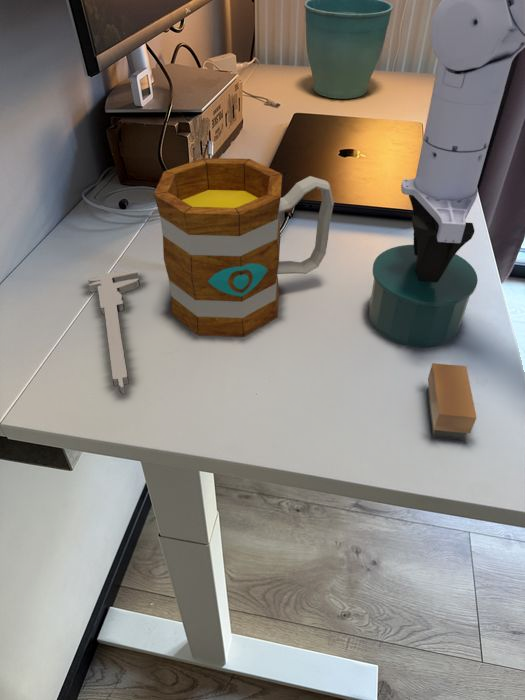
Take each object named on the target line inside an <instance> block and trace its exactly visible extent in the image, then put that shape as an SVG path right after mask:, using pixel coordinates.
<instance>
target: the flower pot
mask: <svg viewBox="0 0 525 700" xmlns="http://www.w3.org/2000/svg"><path fill="white" fill-rule="evenodd" d="M304 9H305V44H306V45H305V47H306V53H307V58H308V63H309V68H310V71H311V75H312V82H313V86H312V89H313V91H314V92H315V93H316V94H318V95H319V96H322V97H326V98H331V99H343V100H346V99H355V98H359V97H363V96H364V95H365V94H366V93H367V91H368V86H369V83H370V80H371V78H372V76H373V74H374V72H375V69H376V67H377V65H378V63H379V61H380V58H381V55H382V52H383V49H384V45H385V41H386V36H387V31H388V27H389V23H390V19H391V14H392V13H393V11H394V5H393V4H392V3H390V2H388V1H386V0H306V1H305V2H304Z"/></svg>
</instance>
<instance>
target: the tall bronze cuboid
mask: <svg viewBox="0 0 525 700" xmlns="http://www.w3.org/2000/svg"><path fill="white" fill-rule="evenodd" d="M427 383H428V387H427V398H428V406H429V415H430V424H431V431H432V437H434V438H443V439H452V440H461V441H464V440H465V438H466V435H467V434H471V432H472V431H473V427H474V426H475V423H476V421H477V413H476V408H475V407H476V406H475V402H474V399H473V393H472V388H471V383H470V378H469V373H468V368H467V366H466V365H459V364H445V363H435V362H433V363H431V366H430V370H429V373H428V377H427Z"/></svg>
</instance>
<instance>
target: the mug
mask: <svg viewBox="0 0 525 700" xmlns="http://www.w3.org/2000/svg"><path fill="white" fill-rule="evenodd" d="M282 183H283V173H281V172H278V171H277V170H275V169H272V168H270V167H268V166H266V165H264V164H262V163H260V162H258V161H255V160H253V159H251V158H229V157H228V158H227V157H225V158H223V157H221V158H220V157H201V158H199V159H196V160H193V161H190V162H188V163H184V164H182V165H178V166H176V167H173V168H169V169H167V170H164V171H163V173H162V175H161V177H160V179H159V181H158V184H157V185H156V188H155V191H154V193H153V196H154V200H155V203H156V207H157V211H158V214H159V217H160V218H159V219H160V225H161V233H162V249H163V250H162V251H163V261H164V265H165V270H166V274H167V277H168V278H167V279H168V283H169V289H170V307H171V308H170V311H171V312H170V314H171V315H172V316H173V317H175V318H176V319H177V320H178V321H180V322H181V323H182V324H183V325H185V326H186V327H187V328H188V329H190V331H192V332H193V333H194V334H196V335H197V336H213V337H238V338H239V337H242V338H244V337H246V336H248V335H250V334H251V333H254V331H256V330H258V329H260V328H261V327H263V326H265V325H267V324H268V323H270V322H272V321H274V320H275V319H277V318H278V317H279V301H280V286H279V285H280V284H279V277H278V275H288V274H289V275H291V274H298V275H306V274H308V273H310V272H312V271H314V270H315V269H317V268H319V266H320V265H321V263H322V261H323V259H324V258H325V256H326V255H327V254H326V253H327V248H328V241H329V235H330V224H331V219H332V215H333V210H334V204H335V201H334V197H333V196H334V195H333V193H332V188H331V185H330V183H329V181H327V180H326V179H322V178H318V177H315V176H312V175H309V176H307V177H305V178H303V179H302V180H300V181H297V182H296V183H295V184H294V186H292V188H290V190H289V191H288V192H287V193H286V194H285V195H284V196H282ZM315 189H316V190H317V189H318V190H320V193H321V203H320V208H319V212H318V217H317V221H316V222H317V223H316V233H315V234H316V236H315V242H314V243H315V244H314V248H313V250H312V251H311V254H310V257H308V258H306V259H305V260H302V261H293V260H281V261H280V251H281V249H280V248H281V226H280V213H284V212H286V211H290V210H292V209H293V208H295V207H296V206H297V205H298V203H299V202H300V201H301V200H302V199H303V197H304V196H305V195H306V194H308V193H310V192H312V191H313V190H315Z"/></svg>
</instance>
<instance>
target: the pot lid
mask: <svg viewBox="0 0 525 700" xmlns="http://www.w3.org/2000/svg"><path fill="white" fill-rule="evenodd" d="M372 277H373V280H374V279H375V281H376V282H377V284H378V285H379V286H380V287H381V288H382V289H383V290H384V291H386V292H387V293H389V294H390V295H392V296H394V297H396V298H398V299H400V300H403V301H406V302H409V303H413V304H417V305H424V306H447V305H452V304H456V303H459V302H461V301H463V300H465V299H467V298H468V297H469V298H470V297H471V296H472V295H473V294H474V292H475V291H476V288H477V286H478V275H477V271H476V270H475V268H474V267H473V266H472V265H471V263H470V262H468V261H467V260H466V259H465V258H463V257H462V256H460V255H458V254H457V253H456V254H455V255H454V256H453V258H452V259H451V261H450V263H449V264H448V266H447V268H446V270H445V271H444V273H443V275H442V276H441V278H440V279H439V281H438V282H424V281H418V277H417V255H415V253H414V244H404V245H398V246H394V247H390V248H388V249H386V250H384V251H382V252H381V253H379V255H377V257H376V258H375V259H374V261H373V265H372Z"/></svg>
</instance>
